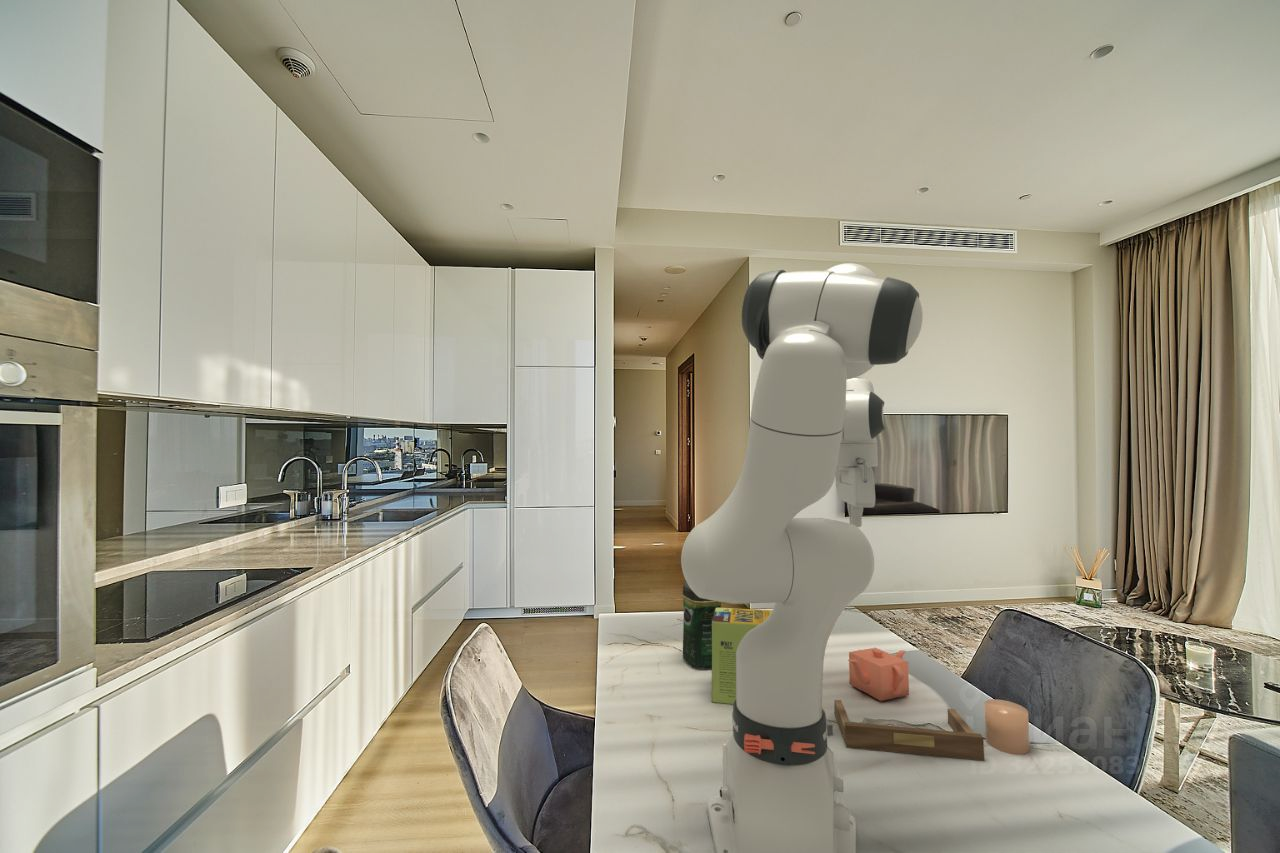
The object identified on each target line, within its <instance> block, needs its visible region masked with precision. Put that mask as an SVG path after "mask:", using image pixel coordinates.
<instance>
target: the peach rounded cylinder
mask: <svg viewBox="0 0 1280 853" xmlns="http://www.w3.org/2000/svg"><path fill="white" fill-rule="evenodd" d="M983 704H984V729H985V730H984V731H985V742H986V744H987V745H989V746H990V747H992V748H993V749H995V750H998V751H1000V752H1003V753H1005V754H1009V755H1010V754H1011V755H1020V756H1021V755H1022V756H1023V755H1027V754H1029V753H1030V750H1031V749H1030V728H1029V727H1030V726H1029V723H1030V722H1029V711H1028V709H1027V708H1025V707H1024V706H1022V705H1020V704H1018V703H1015V702H1012V701H1009V700H1004V699H992V698H991V699H987V700H985V701H984V703H983Z"/></svg>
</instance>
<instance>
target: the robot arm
mask: <svg viewBox="0 0 1280 853" xmlns="http://www.w3.org/2000/svg"><path fill="white" fill-rule="evenodd" d="M923 315H924V314H923V308H922V304H921V301H920V293H919V292H918V290H917V289H916V288H915V287H914V286H913V285H912V284H911V283H909V282H906V281H904V280H901V279H896V278H893V277H885V278H884V279H881V278H878V276H877V275H876V274H875V272H874V271H872V270H871V269H870V268H869V267H868V266H867V267H866V266H864V265H862V264H860V263H859V264H858V263H855V262H854V263H853V262H847V263H846V262H845V263H840V264H837V265H833V266H832V267H829V268H827V269H825V270H798V271H786V270H784V269H779V270H772V271H766V272H763V273H759V274H758V275H757V276H756V277H755V278H754V279H753V280H752V281H751V282H750V284H748V287H747V289H746V292H745V294H744V296H743V301H742V308H741V325H742V326H741V327H742V331H743V333H744V335H745V337H746V339H747V342H749V344H750V346H751V347H753V348H754V349H755V350H756V353H757V355H758V357H759V358H760V359H761V360H762V361H761V365H760V368H759V371H758V375H757V379H756V382H755V388H754V392H753V398H752V403H751V410H750V411H751V412H750V418H749V426H748V436H747V437H748V438H747V443H746V448H745V452H744V453H745V455H744V459H743V465H742V468H741V472H740V475H739V478H738V481H737V483H736V484H735V486H734V489H733V490H732V491H731V493H730V495H729V496H728V497H727V499H726V500H725V502H723V504H722V505H720V507H719V508H718V509H717V510H716V511H715V512H714V513H713V514H711V515H710V516H709V517H708V518H706V519H704V520H702V522H701V523H698V524H697V525H695V526H694V527H693V528H692V529H691V530H690V532H689V533H688V535H687V537H686V538H685V541H684V543H683V546H682V549H681V556H680V563H681V564H680V565H681V571H682V575H683V577H684V579H685V582H687V583H688V585H689V587H690V588H691V590H692V591H693V592H694V593H695V594H696V595H697V596H698V597H699V598H703V599H708V600H713V601H718V602H721V603H723V604H725V603H726V604H729V605H730V604H731V605H744V604H745V605H746V604H747V605H748V604H770V603H771V604H773V603H775V604H774V606H773V609H772V612H771V614H770V615H769V616H768V618H767V619H766V620H765V621H764V622H762V623H761V624H760V625H758V626H756V627H755V628H753V629H751V630H750V631H748V632H747V633H746V634H745V635H744V636H743V638H742V639H741V641H740V643H739V645H738V648H737V651H736V700H735V701H734V704H732V706H733V707H732V712H731V714H732V715H731V721H732V736H731V737H729V739H728V740H727V741H725V742H724V743H723V744H722V759H721V760H722V764H721V765H722V768H721V769H722V771H721V772H722V773H721V776H722V778H721V781H722V782H721V784H722V785H721V786H720V789H719V794H716V795H714V796H711V797H710V798H708V800H707V803H706V811H707V817H708V821H709V825H710V830H711V836H712V842H713V846H714V852H715V853H857V822H856V818H855V816H853V815H852V814H851V813H850V809H849V807H845V806H844V804H843V803H839V802H838V798H839V797H838V795H839V794H838V792H840V793H844V779H842V778H838V757H837V755H836V754H835V753H834V752H833V751H832V750H831V749H830V747H828V735H827V722H826V719H827V716H826V711H825V709H823V683H824V682H823V680H824V679H823V677H824V675H823V674H824V660H825V653H826V650H827V645H828V641H829V638H830V636H831V633H832V631H833V628H834V626H835V624H836V623H837V621H838V619H839V618H840V616H841V614H842V613H843V611H844V610H845V609H846V608H847V607H848V605H850V603H851V602H852V601H853V600H854V599H855V598H857V597H858V596H860V595H861V594H862V593H863V592H865V590H866V589H867V587H869V584H870V582H871V580H872V578H873V575H874V571H875V555H874V552H873V548H872V546H871V543H870V541H869V539H868V538H867V536H866V535H865V533H864V532H863V531H862V530H861V529H860V528H861V527H862V524H863V523H862V522H863V521H862V517H863V514H864V513H863V512H864V508H875V504H876V489H875V488H876V487H875V486H876V484H875V474H874V470H873V468H877V467H879V466H878V463H879V462H878V461H879V460H878V459H879V457H878V455H879V454H878V440H877V437H878V436H879V435H880V434H881V433H882V432H883V431H884V430H885V429H886V427H885V426H884V425H885V424H884V423H885V422H884V406H885V401H884V400H883V399H882V398H881V397H879V396H878V395H877V394H876V393H875V391H874V386H873V382H872V381H871V380H869V379H868V378H862V377H860V376H861V375H862V376H863V375H864V374H865V373H867V372H868V371H870V370H871V369H872V368H874V366H876V365H892V364H896V363H898V362H899V361H900V360H902V359H904V358H905V357H906V356H908V353H909V351H910V349H911V348H912V347H913V346H914V344H915V343H916V341H917V339H918V337H919V335H920V333H921V330H922V325H923ZM834 482H835V487H836V494H837V498H838V500H840V501H842V502H844V503H846V505H847V507H846V508H847V512H848V516H849V522H846V521H845V522H844V521H840V520H836V519H830V518H829V519H828V518H823V517H796V516H797V515H798V514H799V513H801V512H802V511H803V510H805V509H806V508H808V507H810V506H811V505H814V504H815V503H816V502H818V501H820V500H821V499H823V498H824V497H825V496H826V495H827V494H828V492H829V491H830V489H832V486H833V484H834Z"/></svg>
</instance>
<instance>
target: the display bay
mask: <svg viewBox="0 0 1280 853" xmlns="http://www.w3.org/2000/svg"><path fill="white" fill-rule="evenodd" d="M833 700H834V701H833V702H834V703H833V704H834V706H833V707H834V712H833V713H834V716H835V719H836V722H837V725H838V728H839V730H840V733H841V735H842V739H843V741H844V744H845V747H846V748H850V749H862V750H870V751H880V752H881V751H882V752H890V753H901V754H911V755H922V756H931V757H932V756H933V757H941V758H952V759H953V758H954V759H962V760H975V761H983V762H984V761H985V746H984V745H985V744H984V743H985V742H984V741H985V740H984V737H983V735H982V734H981V733H976V732H974V731H973V730H972V728H971V727H970V726H969V725H968V723H967V722H966V721H965V719H964V718H963V717H962V716H961V715H960V714H959V713H958V711H957V710H956V709H953V708H947V724H948V725H949V727H950V728H951V729H952V730H944V729H943V730H939V729H930V728H920V727H907V726H897V725H886V724H874V723H864V722H863V723H862V722H852V721H850V719H849V717H848V715H847V711H846V710H845V706H844V704H843V701H842V700H841V699H833Z"/></svg>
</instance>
